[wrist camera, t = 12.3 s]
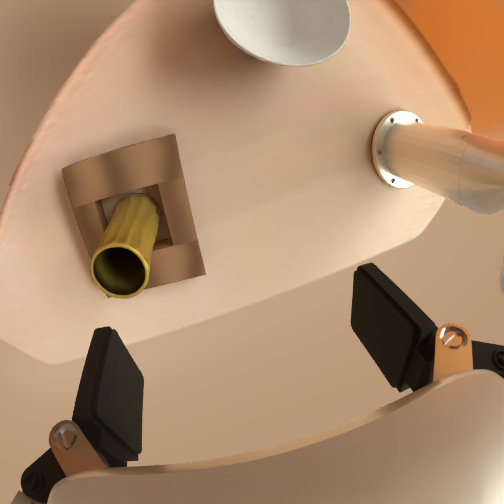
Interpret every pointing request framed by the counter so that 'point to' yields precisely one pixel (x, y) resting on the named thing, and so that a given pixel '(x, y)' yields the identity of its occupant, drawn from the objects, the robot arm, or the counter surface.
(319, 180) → the counter surface
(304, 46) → the chinaware
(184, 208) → the vase stand
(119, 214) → the vase
